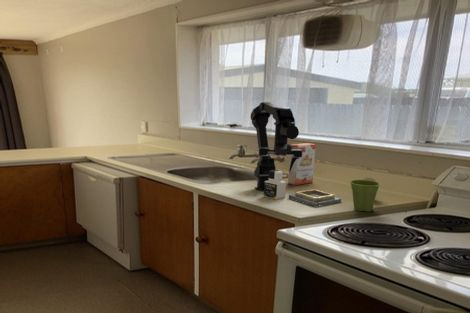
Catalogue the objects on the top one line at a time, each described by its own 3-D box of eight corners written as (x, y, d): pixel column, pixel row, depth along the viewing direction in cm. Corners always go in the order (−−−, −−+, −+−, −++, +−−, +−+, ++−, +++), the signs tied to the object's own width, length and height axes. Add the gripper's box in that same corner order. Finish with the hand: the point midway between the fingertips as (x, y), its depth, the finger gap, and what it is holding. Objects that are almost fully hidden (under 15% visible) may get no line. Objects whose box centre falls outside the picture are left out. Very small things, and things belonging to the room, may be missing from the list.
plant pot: (353, 203, 167) (355, 178, 165) (381, 209, 160) (383, 182, 159) (343, 209, 157) (345, 182, 156) (373, 215, 151) (375, 187, 149)
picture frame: (288, 198, 173) (289, 191, 173) (314, 194, 182) (314, 187, 182) (315, 207, 160) (315, 199, 160) (341, 202, 169) (341, 195, 169)
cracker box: (296, 185, 199) (298, 145, 196) (287, 183, 204) (289, 143, 201) (313, 182, 208) (316, 143, 205) (305, 180, 213) (307, 142, 210)
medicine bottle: (263, 196, 175) (264, 170, 173) (273, 194, 180) (274, 168, 178) (276, 199, 170) (277, 172, 168) (285, 197, 175) (287, 170, 173)
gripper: (259, 137, 162) (257, 173, 165) (304, 139, 161) (301, 176, 164) (260, 134, 173) (258, 168, 176) (302, 136, 172) (299, 171, 175)
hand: (279, 171), depth 172 cm, fingers open, 9 cm apart
